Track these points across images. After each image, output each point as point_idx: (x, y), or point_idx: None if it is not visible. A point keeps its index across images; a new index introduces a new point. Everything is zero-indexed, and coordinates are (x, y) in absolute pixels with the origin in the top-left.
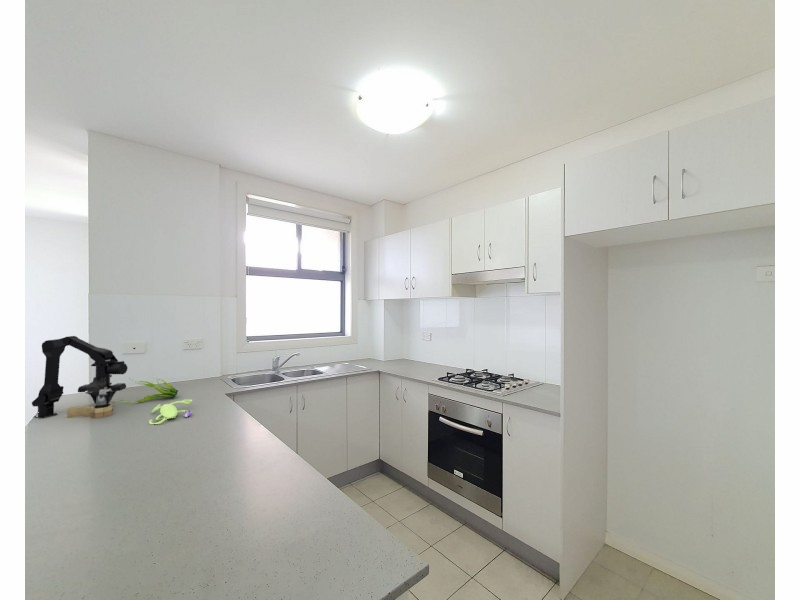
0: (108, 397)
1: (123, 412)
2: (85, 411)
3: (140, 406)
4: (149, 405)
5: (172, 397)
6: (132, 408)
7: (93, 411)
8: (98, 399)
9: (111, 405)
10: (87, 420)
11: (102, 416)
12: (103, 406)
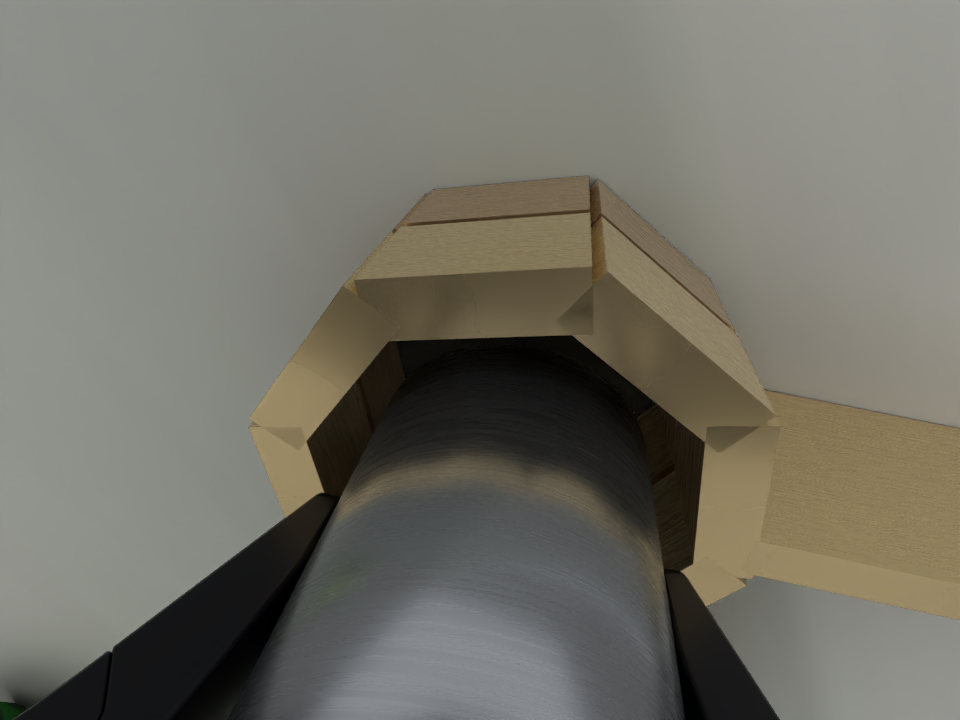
0: (121, 684)
1: (230, 391)
2: (874, 476)
3: (175, 578)
4: (84, 574)
5: (14, 712)
6: (225, 537)
7: (645, 269)
8: (521, 648)
9: (264, 442)
10: (714, 50)
11: (445, 195)
12: (416, 402)
